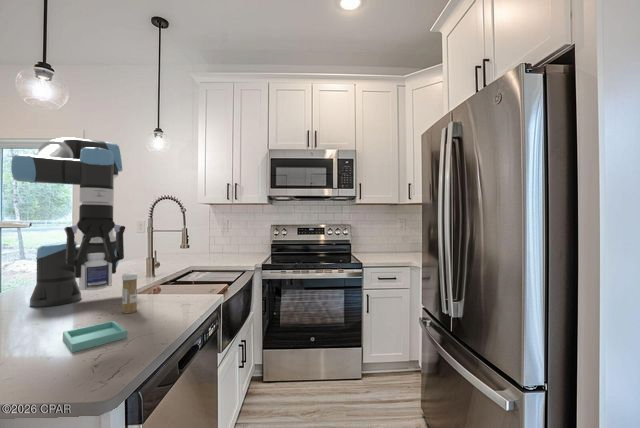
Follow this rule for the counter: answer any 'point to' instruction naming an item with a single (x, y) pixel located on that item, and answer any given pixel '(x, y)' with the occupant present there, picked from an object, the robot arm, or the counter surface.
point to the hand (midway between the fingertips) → (95, 287)
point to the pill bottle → (96, 271)
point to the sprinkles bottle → (129, 292)
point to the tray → (93, 335)
